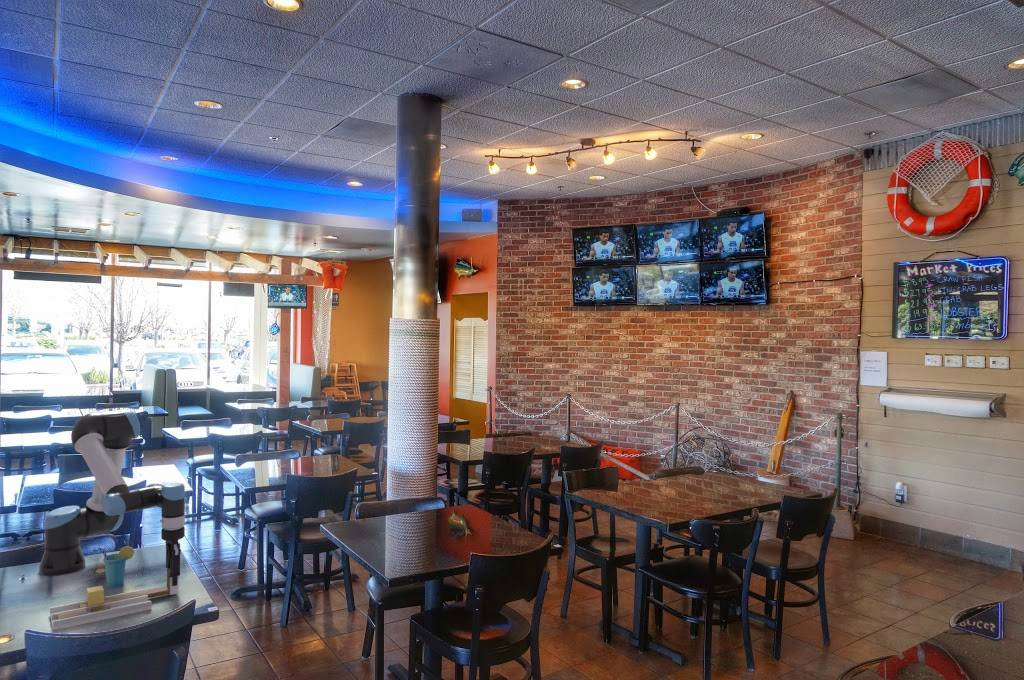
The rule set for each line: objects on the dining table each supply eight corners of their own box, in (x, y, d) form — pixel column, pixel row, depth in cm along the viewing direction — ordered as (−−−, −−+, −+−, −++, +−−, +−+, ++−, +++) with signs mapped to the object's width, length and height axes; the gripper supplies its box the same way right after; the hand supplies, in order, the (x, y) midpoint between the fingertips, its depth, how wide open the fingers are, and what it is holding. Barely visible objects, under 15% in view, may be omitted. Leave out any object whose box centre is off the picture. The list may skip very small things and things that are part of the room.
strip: (78, 608, 235) (78, 584, 234) (175, 588, 253) (176, 566, 253) (80, 612, 232) (80, 588, 231) (178, 592, 250) (178, 570, 249)
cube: (86, 601, 236) (86, 588, 236) (101, 598, 239) (102, 585, 239) (88, 606, 233) (88, 592, 233) (103, 603, 235) (103, 589, 235)
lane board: (50, 615, 231) (50, 607, 231) (144, 596, 248) (144, 588, 248) (53, 630, 221) (53, 621, 221) (151, 609, 238) (151, 601, 238)
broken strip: (57, 619, 226) (57, 614, 226) (108, 608, 235) (108, 604, 235) (58, 623, 223) (58, 618, 223) (110, 612, 232) (110, 608, 231)
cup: (92, 593, 250) (92, 552, 249) (88, 586, 256) (88, 546, 255) (135, 584, 258) (135, 544, 258) (131, 578, 264) (131, 539, 264)
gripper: (156, 522, 254) (156, 586, 255) (166, 535, 240) (165, 602, 241) (179, 519, 259) (178, 581, 259) (189, 531, 245) (189, 597, 246)
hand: (172, 591), depth 250 cm, fingers closed on strip, 4 cm apart
